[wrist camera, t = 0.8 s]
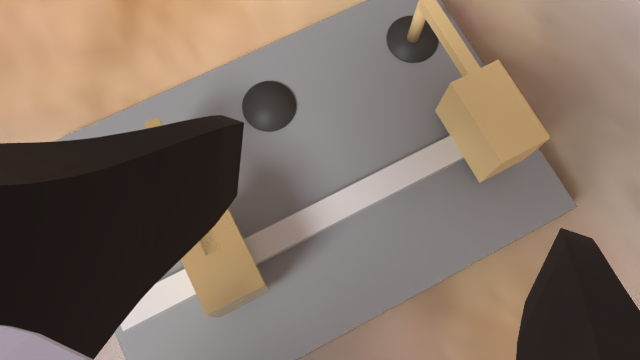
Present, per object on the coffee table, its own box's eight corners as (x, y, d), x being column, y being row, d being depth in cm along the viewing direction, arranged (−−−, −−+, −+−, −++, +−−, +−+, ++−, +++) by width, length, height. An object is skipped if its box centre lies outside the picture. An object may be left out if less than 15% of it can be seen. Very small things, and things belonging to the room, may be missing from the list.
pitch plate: (163, 432, 24) (129, 453, 19) (48, 154, 27) (-3, 119, 23) (567, 211, 27) (619, 186, 22) (420, -14, 30) (440, -75, 26)
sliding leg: (220, 318, 24) (206, 315, 20) (144, 153, 26) (119, 126, 22) (271, 292, 24) (265, 285, 21) (192, 131, 26) (175, 101, 23)
